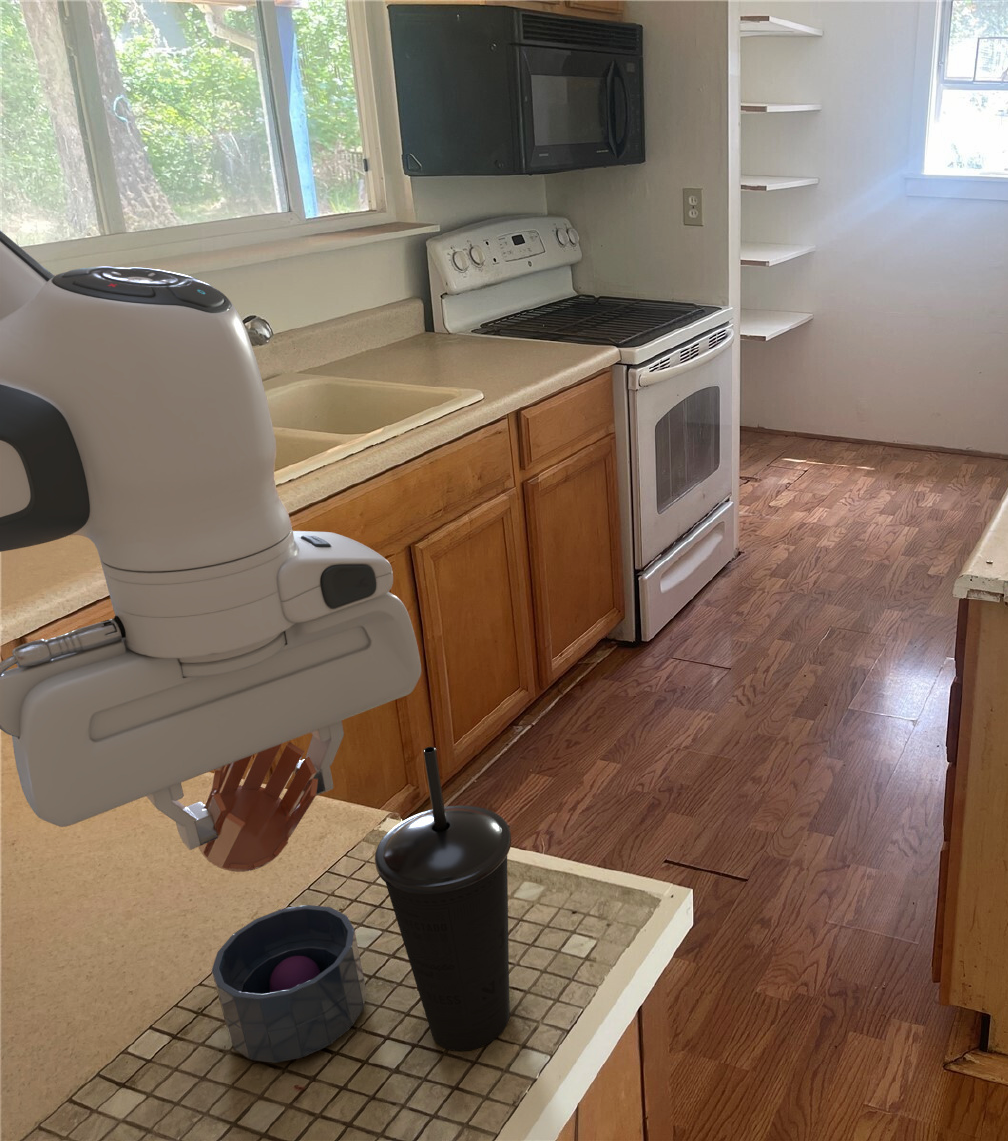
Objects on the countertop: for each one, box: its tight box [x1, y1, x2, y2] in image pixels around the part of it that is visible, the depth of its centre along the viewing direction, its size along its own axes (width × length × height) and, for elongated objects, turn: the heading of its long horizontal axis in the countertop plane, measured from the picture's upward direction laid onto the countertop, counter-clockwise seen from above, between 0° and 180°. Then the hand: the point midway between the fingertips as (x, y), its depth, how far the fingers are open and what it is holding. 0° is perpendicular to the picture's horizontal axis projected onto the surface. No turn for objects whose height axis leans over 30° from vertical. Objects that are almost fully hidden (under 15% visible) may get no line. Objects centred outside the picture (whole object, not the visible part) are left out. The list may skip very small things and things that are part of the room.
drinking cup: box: [374, 746, 512, 1052], centre depth 63 cm, size 8×8×20 cm
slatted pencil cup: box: [197, 741, 318, 873], centre depth 61 cm, size 5×5×8 cm
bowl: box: [211, 904, 367, 1064], centre depth 67 cm, size 8×8×6 cm
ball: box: [269, 956, 320, 993], centre depth 68 cm, size 3×3×3 cm
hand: (260, 814), depth 61 cm, fingers closed on slatted pencil cup, 5 cm apart
